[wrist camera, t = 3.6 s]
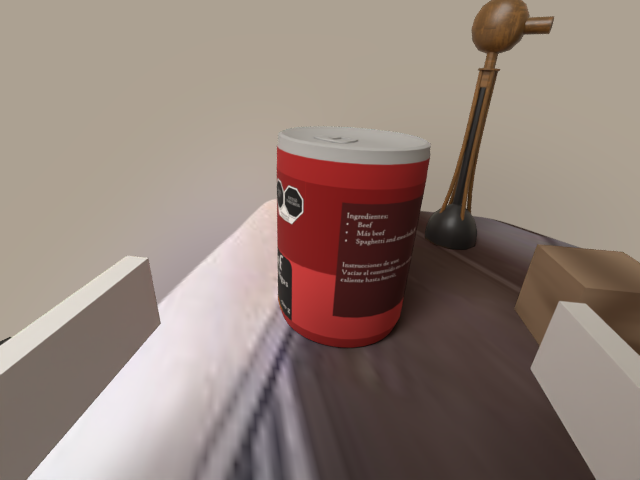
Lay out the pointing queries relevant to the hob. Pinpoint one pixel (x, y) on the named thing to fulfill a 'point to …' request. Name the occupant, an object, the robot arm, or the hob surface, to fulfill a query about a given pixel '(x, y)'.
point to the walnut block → (582, 289)
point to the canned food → (346, 229)
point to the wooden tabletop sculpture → (480, 116)
